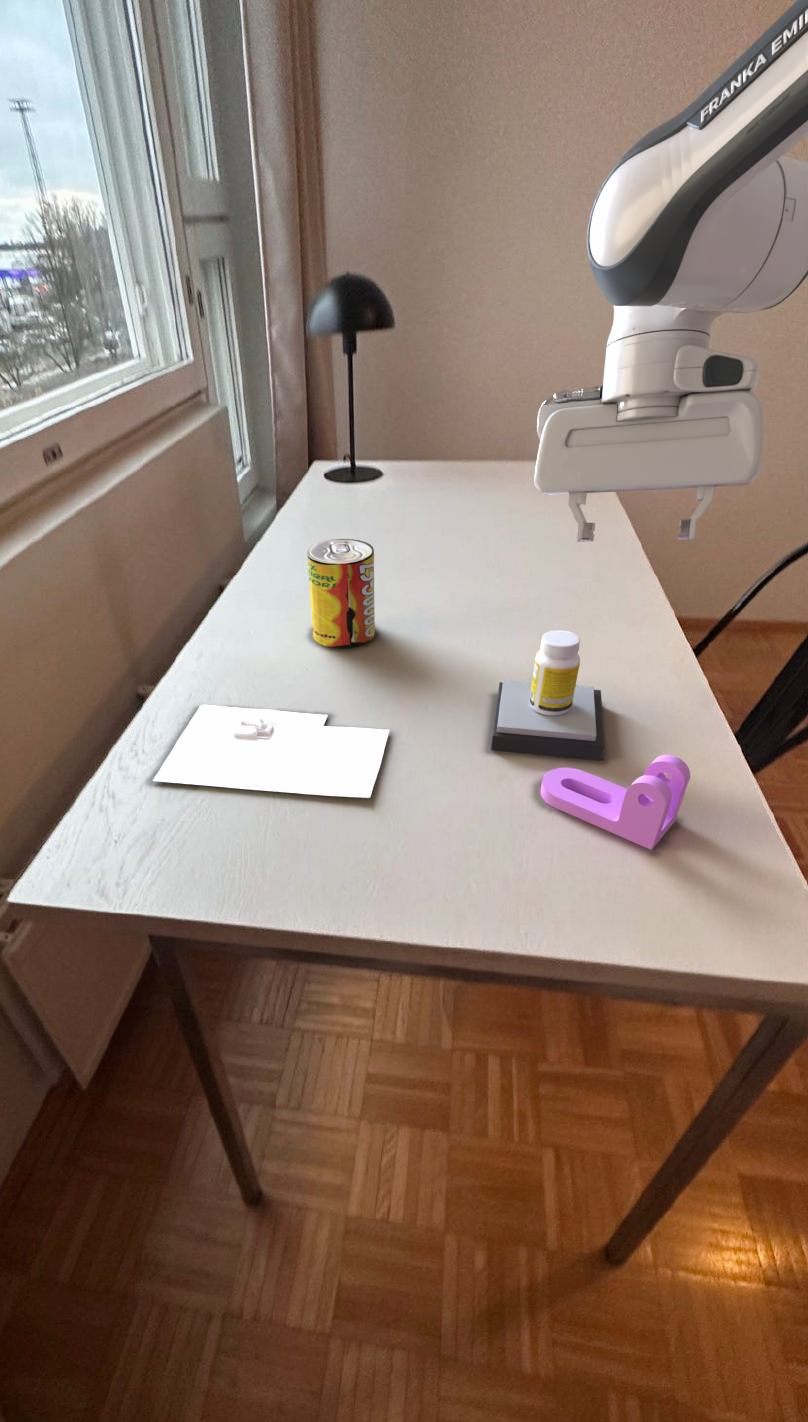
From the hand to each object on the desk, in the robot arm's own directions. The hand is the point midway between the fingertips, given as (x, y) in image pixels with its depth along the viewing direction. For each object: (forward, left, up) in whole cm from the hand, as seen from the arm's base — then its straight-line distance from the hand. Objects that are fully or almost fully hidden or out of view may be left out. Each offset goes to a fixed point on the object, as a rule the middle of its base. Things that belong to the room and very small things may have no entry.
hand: (634, 540), depth 73 cm
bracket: (0, +17, -21) cm, 27 cm away
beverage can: (+35, -18, -21) cm, 44 cm away
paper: (+36, +12, -21) cm, 43 cm away
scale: (+6, +2, -21) cm, 22 cm away
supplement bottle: (+6, +2, -18) cm, 19 cm away
